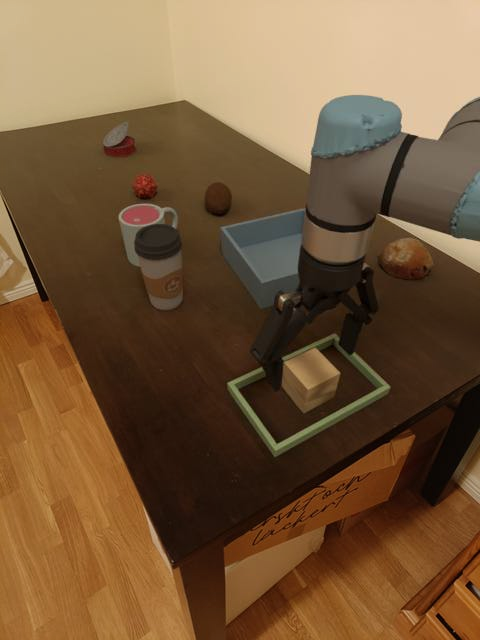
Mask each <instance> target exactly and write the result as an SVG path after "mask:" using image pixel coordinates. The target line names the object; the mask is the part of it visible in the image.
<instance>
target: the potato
mask: <svg viewBox="0 0 480 640" xmlns="http://www.w3.org/2000/svg"><path fill="white" fill-rule="evenodd" d="M232 200H233V195H232V191H231V189H230V188H229V186H228V185H226V184H225V183H223V182H218V181H215V182H213V183H211V184H209V185H208V186H207V188H206V190H205V193H204V203H205V206H206V208H207V210H208V211H209V212H211V213H212V214H214V215H223V214H224V213H226V212H227V211H228V209H230V206H231V204H232Z"/></svg>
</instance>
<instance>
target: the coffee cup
mask: <svg viewBox="0 0 480 640" xmlns="http://www.w3.org/2000/svg"><path fill="white" fill-rule="evenodd" d="M134 246H135V247H134V249H135V252H136V253H137V256H138V259H139V263H140V266H141V267H140V271H141V275H142V278H143V282H144V285H145V289H146V291H147V294H148V298H149V302H150V304H151V305H152V306H153V307H154V308H155V309H157V310H159V311H166V312H167V311H173V310H174V309H177V308H178V307H179V306H180V305H181V304H182V302H183V300H184V276H183V275H184V271H183V270H184V269H183V267H184V266H183V257H182V247H183V241H182V237H181V235H180V233H179V232H178V230H177V228H176V229H175V228H174V227H172V225H169V224H166V223H165V224H153V225H149V226H145V227H143V228H141V229H140V230H139V231H138V232H137V233H136V236H135V241H134Z"/></svg>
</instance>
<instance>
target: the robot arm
mask: <svg viewBox="0 0 480 640" xmlns="http://www.w3.org/2000/svg"><path fill="white" fill-rule="evenodd" d="M402 119H403V113H402V111H401V108H400V107H399V105H397V104H396V103H395V102H393V101H390V100H384V99H383V97H379V96H373V95H367V94H348V95H341V96H338V97H335V98H333V99H331V100H330V101H329V102H327V103H325V104H324V105H323V107H322V108H321V109H320V112H319V114H318V118H317V123H316V129H315V135H314V138H313V139H314V140H313V145H312V147H311V151H310V155H311V157H310V166H309V176H308V186H307V195H306V204H305V215H304V223H303V231H302V239H301V240H302V244H301V246H300V253H299V261H298V275H299V281H300V282H299V285H298V287H297V289H296V290H295V292H293V293H289V294H285V293H284V292H283V291H278V292H277V293H276V295H275V299H274V304H273V306H272V308H271V309H270V311H269V313H268V315H267V317H266V319H265V321H264V323H263V325H262V327H261V328H260V330H259V332H258V334H257V336H256V338H255V340H254V342H253V343H252V345H251V347H250V349H249V353H250V354H251V356H252V357H253V358H254V359H255V361H256V362H257V363H258V364H259V366H261V367H262V369H263V370H264V371H265V373H266V374H265V377H264V379H265V381H266V382H267V383H268V385H269V386H270V387H271V388H272V390H273V391H274V392H275V393H277V392H279V391H280V390H281V386H282V376H283V359H282V357H283V355H284V353H285V352H286V351H287V350H288V349H289V347H290V346H291V344H293V342H294V340H296V338H297V337H298V335H299V334H300V333H301V332H302V330H303V329H304V328H305V327H306V326H307V325H311V324H313V322H314V321H315V319H316V318H317V317H318V316H320V315H322V314H323V313H325V312H327V311H330V310H333V309H336V308H337V306H338V305H340V303H342V305H344V307H346V308H347V309H348V310H349V311H350V312H348V313H346V314H345V315H344V320H343V323H342V327H341V332H340V335H339V338H340V339H339V343H338V345H339V346H340V347H341V348H342V349H343V350H344V351H345V352H346V353H347V354H348V355H349V356H350V355H352V354H353V353H354V352H355V349H356V347H357V343H358V339H359V336H360V334H361V333H362V330H363V327H364V325H366V326H368V325H370V324H371V323H372V321H373V318H372V317H371V316H370V314H372V315H375V314H377V313H379V310H380V307H379V306H380V305H379V303H378V298H377V294H376V290H375V286H374V276H375V269H374V268H372V267H371V265H370V266H369V265H368V264H367V263H365V261H366V257H367V256H366V255H367V253H368V251H369V247H370V244H371V239H372V236H373V232H374V227H375V223H376V220H377V219H376V218H377V215H380V216H382V217H383V216H384V217H387V218H392V219H396V220H398V221H401V222H404V223H405V222H406V223H408V224H412V225H415V226H418V227H422V228H424V229H428V230H431V231H435V232H438V233H442V234H444V235H447V236H452V238H454V239H458V240H460V239H465V240H470V241H474V242H479V243H480V96H478V97H475V98H474V99H471V100H470V101H468V102H466V103H465V104H464V105H463V106H462V107H461V108H460V109H459V110H457V111H456V112H454V114H453V115H452V116H451V117H450V118H449V120H448V121H447V123H446V125H445V127H444V129H443V130H442V133H441V135H440V136H439V138H438V139H433V138H429V137H423V136H419V135H416V134H411V133H408V132H405V131H404V132H403V131H402V128H403V125H402ZM354 287H355V288H356V291H357V296H358V298H359V303H360V304H358V303H357V302H356V300H355V299H354V298H353V297H352V296H351V295H350V293H349V292H350V290H351V289H353V288H354ZM301 306H303V307H304V308H305V310H307V311H308V313H307V314H306V312H304V311H303V310H302V309H301Z"/></svg>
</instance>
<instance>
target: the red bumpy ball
mask: <svg viewBox="0 0 480 640" xmlns="http://www.w3.org/2000/svg"><path fill="white" fill-rule="evenodd" d="M131 188H132V190H133V191H134V192H135V194H136V195H137V197H138V198H139V199H153V198H154V196H155V194H156V192H157V189H158V188H159V185H158V184H157V182H156V181H155V179H154V178H153V176H152V174H137V175H136V177H135V180H134V181H133V184H132V186H131Z"/></svg>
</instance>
